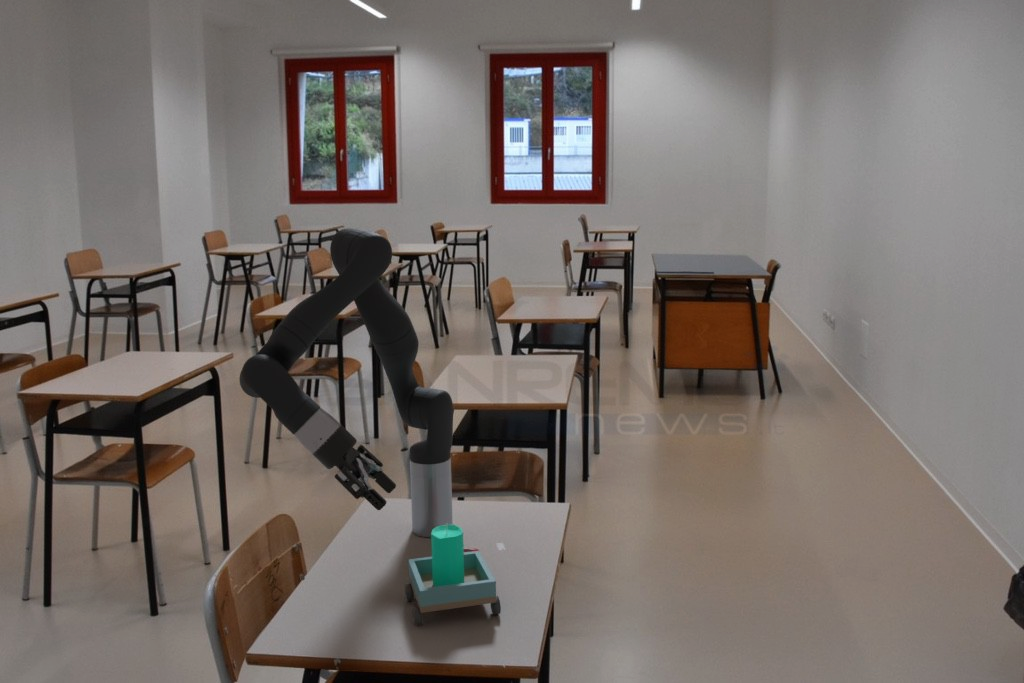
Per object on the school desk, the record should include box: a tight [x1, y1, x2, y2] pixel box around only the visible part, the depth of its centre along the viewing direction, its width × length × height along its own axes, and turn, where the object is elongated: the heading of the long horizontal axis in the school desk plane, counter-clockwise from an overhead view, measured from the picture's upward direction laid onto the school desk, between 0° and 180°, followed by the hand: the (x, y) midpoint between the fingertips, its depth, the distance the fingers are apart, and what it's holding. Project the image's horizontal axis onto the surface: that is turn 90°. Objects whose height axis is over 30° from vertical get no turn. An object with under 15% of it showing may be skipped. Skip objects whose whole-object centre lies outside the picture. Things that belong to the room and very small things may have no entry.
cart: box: [404, 550, 501, 626], centre depth 178 cm, size 14×16×7 cm
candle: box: [430, 523, 464, 587], centre depth 178 cm, size 6×6×12 cm
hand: (388, 498), depth 176 cm, fingers open, 8 cm apart
